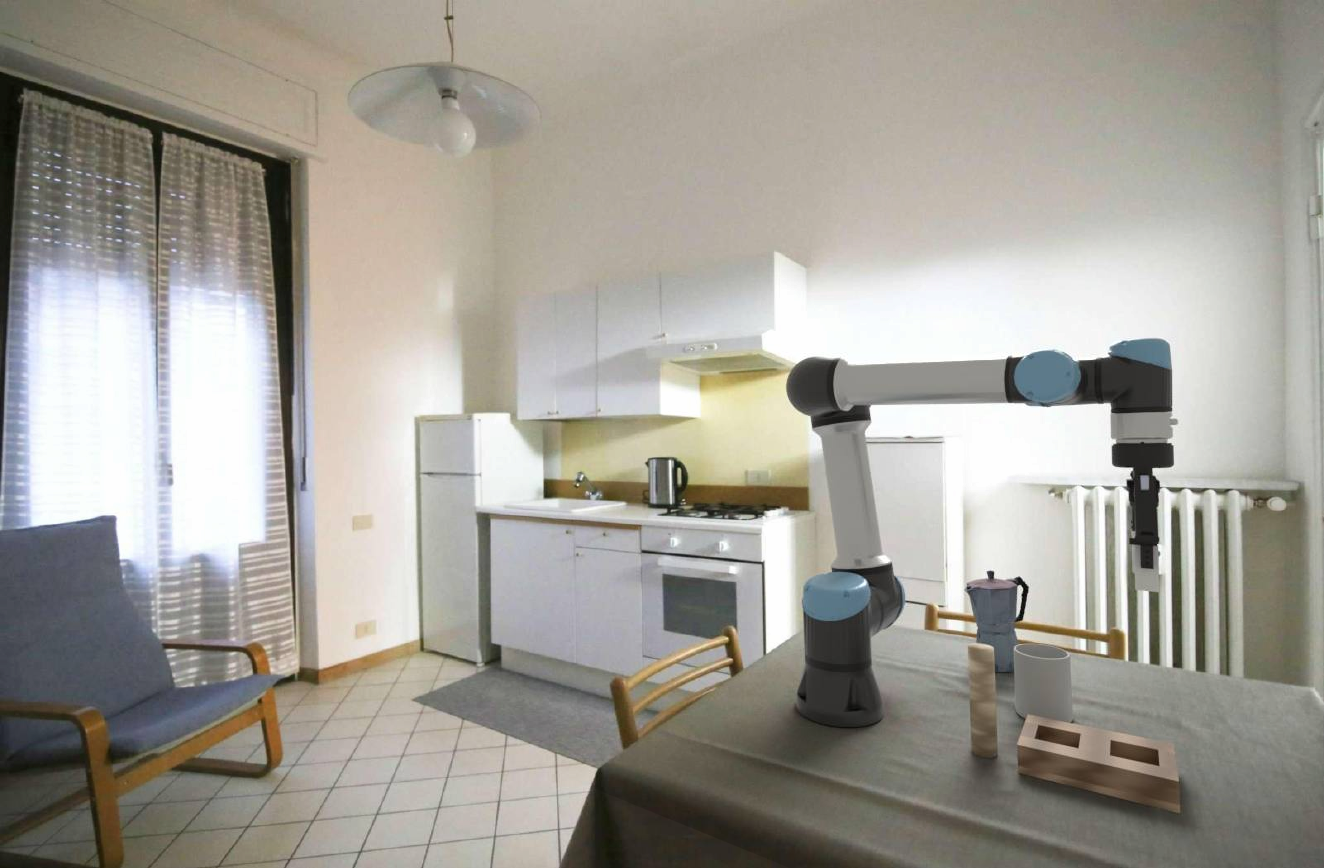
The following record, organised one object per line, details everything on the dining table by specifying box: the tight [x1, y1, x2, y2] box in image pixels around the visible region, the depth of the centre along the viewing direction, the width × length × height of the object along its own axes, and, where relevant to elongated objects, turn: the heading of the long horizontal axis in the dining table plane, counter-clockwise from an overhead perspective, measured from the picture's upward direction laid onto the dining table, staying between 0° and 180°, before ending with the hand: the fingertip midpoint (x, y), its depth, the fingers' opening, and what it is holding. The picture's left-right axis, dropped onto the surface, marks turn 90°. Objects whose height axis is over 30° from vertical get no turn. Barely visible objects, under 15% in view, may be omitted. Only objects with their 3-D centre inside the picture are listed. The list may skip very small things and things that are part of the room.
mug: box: [1013, 643, 1074, 723], centre depth 111 cm, size 12×8×11 cm
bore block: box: [1016, 714, 1181, 814], centre depth 90 cm, size 18×12×4 cm, turn 54°
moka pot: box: [964, 570, 1030, 673], centre depth 133 cm, size 10×15×20 cm, turn 107°
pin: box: [967, 642, 999, 759], centre depth 97 cm, size 4×4×16 cm
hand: (1144, 581), depth 96 cm, fingers open, 13 cm apart
